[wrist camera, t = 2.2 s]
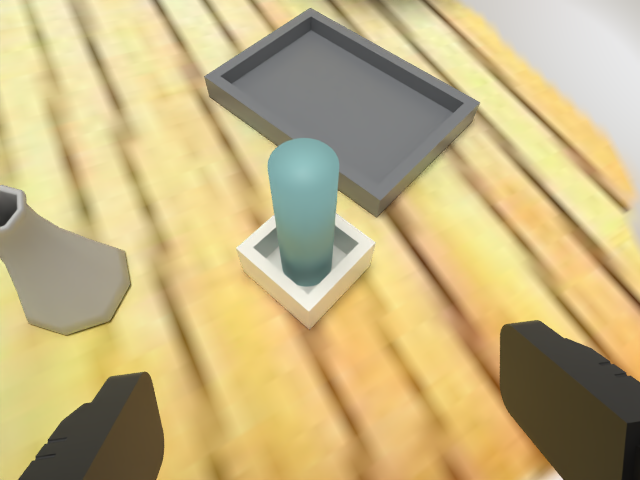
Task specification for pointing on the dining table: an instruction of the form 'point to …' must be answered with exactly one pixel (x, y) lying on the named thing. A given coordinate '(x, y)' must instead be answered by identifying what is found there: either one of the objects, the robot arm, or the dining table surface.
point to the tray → (344, 104)
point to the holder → (311, 301)
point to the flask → (58, 269)
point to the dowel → (304, 207)
